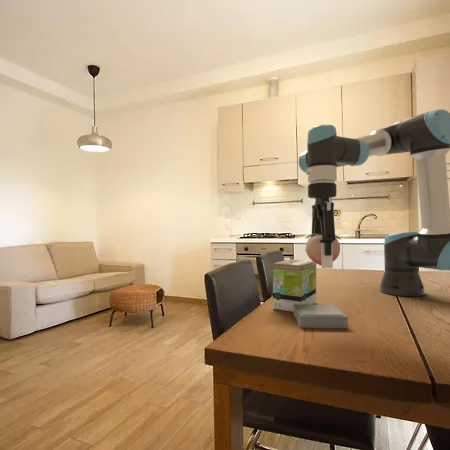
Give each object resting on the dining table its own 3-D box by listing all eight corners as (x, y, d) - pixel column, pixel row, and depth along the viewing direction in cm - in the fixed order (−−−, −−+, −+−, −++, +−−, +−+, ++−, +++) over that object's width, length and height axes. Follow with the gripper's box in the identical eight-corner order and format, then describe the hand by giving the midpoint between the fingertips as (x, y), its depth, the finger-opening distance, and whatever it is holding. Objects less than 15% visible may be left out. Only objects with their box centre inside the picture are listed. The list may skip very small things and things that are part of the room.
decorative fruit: (305, 268, 84) (304, 230, 84) (305, 264, 92) (305, 230, 92) (342, 269, 82) (342, 230, 82) (340, 265, 90) (339, 229, 90)
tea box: (302, 313, 95) (302, 264, 95) (271, 309, 100) (271, 262, 100) (317, 303, 108) (316, 259, 108) (288, 299, 113) (288, 258, 113)
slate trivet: (334, 314, 94) (334, 304, 94) (347, 328, 82) (347, 315, 82) (293, 314, 94) (293, 303, 94) (300, 327, 82) (300, 315, 82)
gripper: (300, 187, 98) (301, 261, 98) (317, 177, 77) (318, 271, 77) (325, 187, 97) (326, 261, 98) (348, 177, 76) (349, 271, 76)
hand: (322, 265), depth 87 cm, fingers closed on decorative fruit, 8 cm apart
